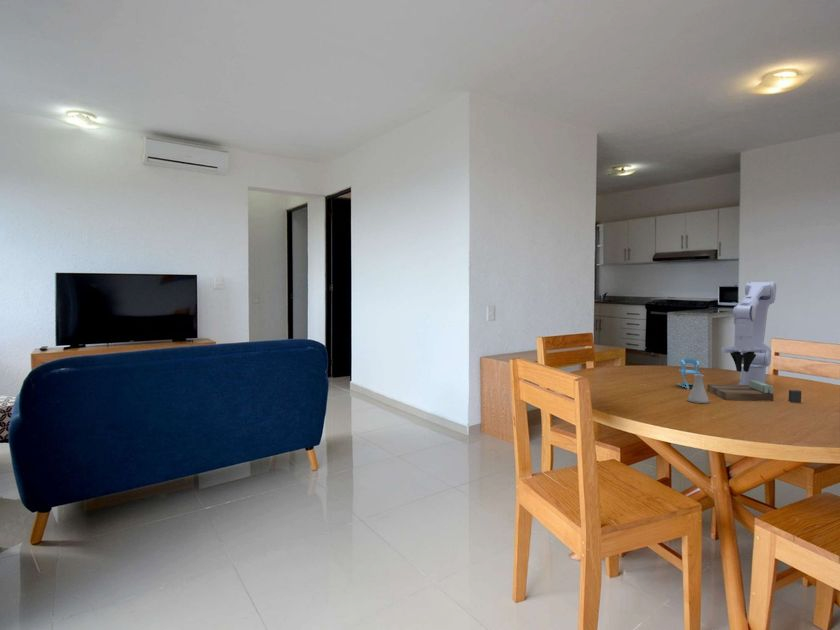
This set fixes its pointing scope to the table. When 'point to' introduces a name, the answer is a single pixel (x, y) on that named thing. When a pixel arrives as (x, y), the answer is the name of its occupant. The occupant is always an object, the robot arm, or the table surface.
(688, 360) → the chair
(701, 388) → the flask
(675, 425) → the table surface
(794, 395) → the block
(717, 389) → the stool seat
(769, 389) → the folding leg
